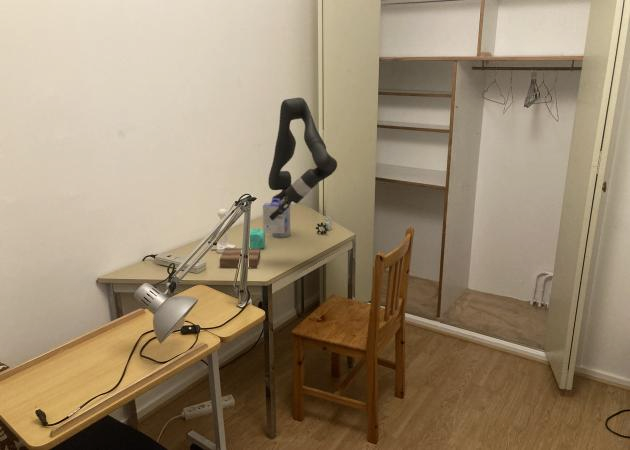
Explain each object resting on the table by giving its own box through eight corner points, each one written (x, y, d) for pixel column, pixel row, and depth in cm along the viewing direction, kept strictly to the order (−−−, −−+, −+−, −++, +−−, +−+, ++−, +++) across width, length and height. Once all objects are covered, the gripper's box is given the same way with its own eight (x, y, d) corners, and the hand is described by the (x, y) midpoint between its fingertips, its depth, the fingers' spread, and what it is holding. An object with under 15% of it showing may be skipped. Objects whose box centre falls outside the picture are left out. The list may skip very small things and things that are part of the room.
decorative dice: (246, 249, 253) (246, 233, 251) (248, 244, 261) (248, 228, 258) (263, 249, 253) (263, 233, 251) (265, 244, 261) (264, 228, 258)
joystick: (236, 249, 254) (235, 208, 248) (230, 254, 246) (229, 212, 241) (214, 247, 256) (213, 206, 250) (208, 252, 249) (206, 211, 243)
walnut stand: (225, 256, 244) (225, 248, 243) (260, 256, 244) (260, 248, 243) (219, 267, 231) (219, 259, 229) (257, 268, 231) (256, 259, 229)
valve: (323, 227, 287) (315, 234, 277) (323, 215, 285) (315, 222, 275) (335, 229, 285) (327, 235, 274) (335, 217, 283) (327, 223, 272)
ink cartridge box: (288, 230, 235) (287, 198, 231) (285, 234, 230) (284, 201, 225) (266, 228, 237) (265, 196, 232) (263, 232, 232) (262, 200, 227)
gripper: (293, 180, 234) (266, 206, 238) (291, 188, 220) (263, 215, 224) (305, 192, 235) (278, 217, 239) (304, 200, 222) (276, 227, 225)
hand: (271, 216), depth 231 cm, fingers closed on ink cartridge box, 6 cm apart
